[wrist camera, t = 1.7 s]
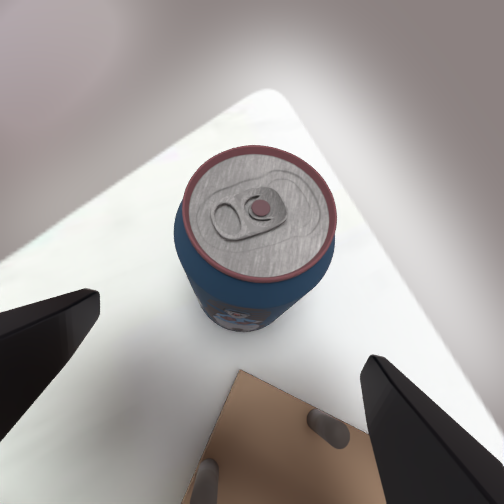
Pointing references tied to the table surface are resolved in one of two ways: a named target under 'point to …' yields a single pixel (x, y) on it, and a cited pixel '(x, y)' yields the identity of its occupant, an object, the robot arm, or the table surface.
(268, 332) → the table surface
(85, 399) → the table surface
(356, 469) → the walnut cradle
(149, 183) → the table surface
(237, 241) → the soda can
